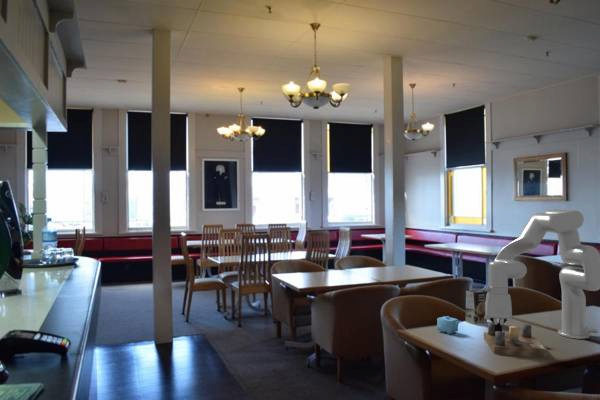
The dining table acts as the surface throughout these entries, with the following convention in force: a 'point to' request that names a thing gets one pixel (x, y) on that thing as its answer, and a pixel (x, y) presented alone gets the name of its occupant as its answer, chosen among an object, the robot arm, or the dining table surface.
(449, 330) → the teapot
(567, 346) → the dining table surface
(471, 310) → the coffee box
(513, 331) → the hinged leg
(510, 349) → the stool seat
